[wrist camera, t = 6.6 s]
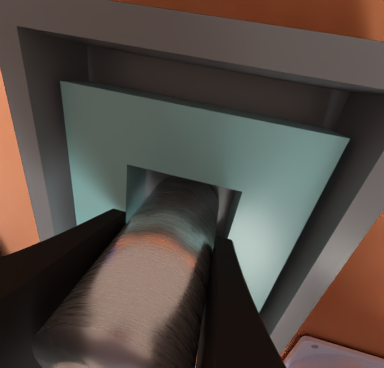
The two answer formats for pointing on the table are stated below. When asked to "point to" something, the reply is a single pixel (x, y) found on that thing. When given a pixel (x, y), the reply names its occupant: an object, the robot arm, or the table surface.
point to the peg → (141, 289)
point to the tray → (207, 77)
